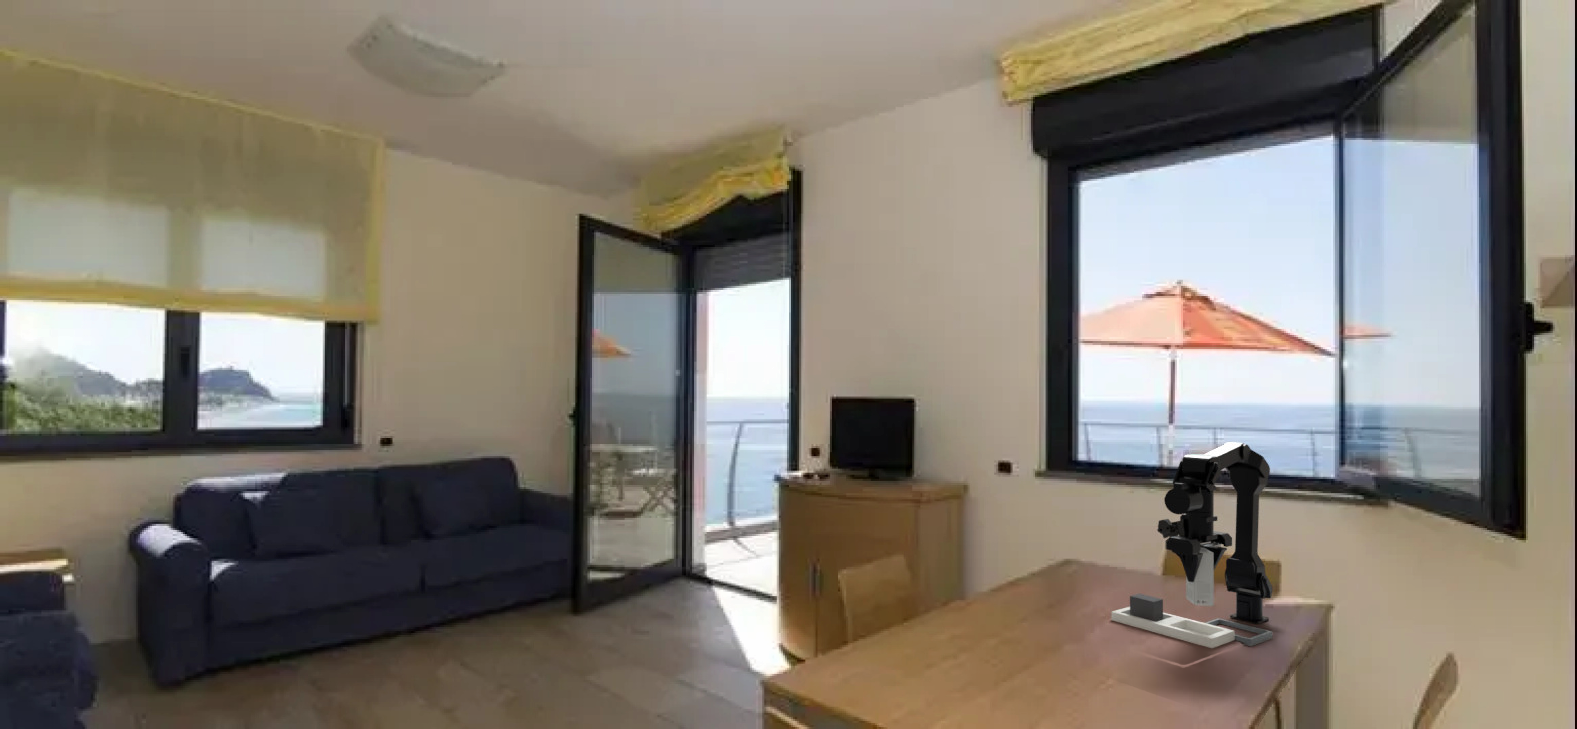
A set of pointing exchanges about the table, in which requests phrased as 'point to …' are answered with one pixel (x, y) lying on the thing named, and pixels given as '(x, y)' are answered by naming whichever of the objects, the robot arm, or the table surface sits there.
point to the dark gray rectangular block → (1146, 607)
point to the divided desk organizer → (1178, 628)
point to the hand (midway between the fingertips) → (1199, 579)
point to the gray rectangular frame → (1247, 641)
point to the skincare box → (1202, 581)
